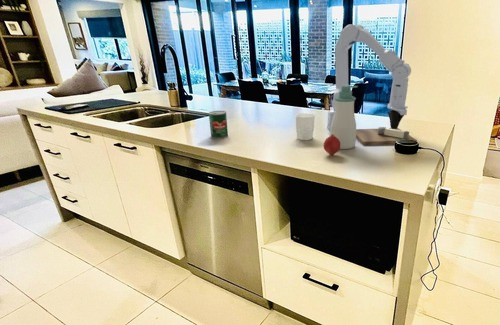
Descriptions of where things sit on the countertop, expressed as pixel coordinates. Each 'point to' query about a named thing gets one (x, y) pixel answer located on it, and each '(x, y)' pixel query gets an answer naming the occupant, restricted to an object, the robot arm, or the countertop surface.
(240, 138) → the countertop surface
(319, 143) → the countertop surface
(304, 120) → the white cup
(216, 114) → the canned tomato
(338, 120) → the soap bottle
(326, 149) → the onion
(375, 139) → the dial board
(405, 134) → the dial lever
